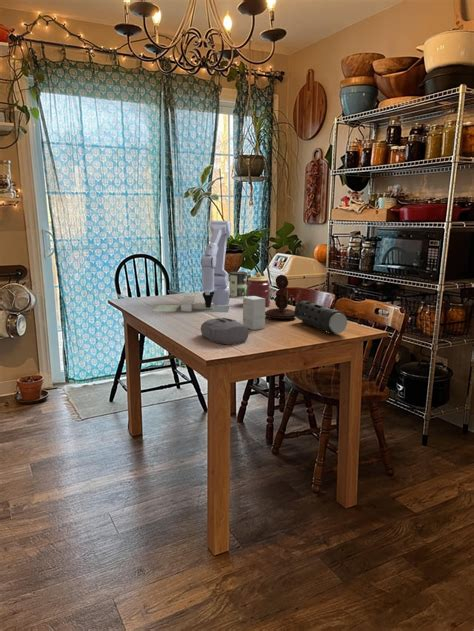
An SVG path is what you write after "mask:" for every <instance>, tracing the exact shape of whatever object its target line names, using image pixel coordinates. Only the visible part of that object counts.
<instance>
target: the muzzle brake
mask: <svg viewBox="0 0 474 631" xmlns="http://www.w3.org/2000/svg"><path fill="white" fill-rule="evenodd" d="M294 311H295V316H296V317H295V318H296V319H298V321H301V322H302V323H303V322H304V323H303V324H305V323H306V324H305V325H308V324H309V325H308V326H310V325H311V327H313V326H314V328H315V327H318V328H317V329H321V330H323V332H324V331H327V332H329V333H328V334H332V335H333V334H341V333H343V332H344V331H345V330H346V328H347V326H348V319H347V316H346V315H345V314H344V313H343V312H342V311H340V310H337V309H332V308H329V307H326V306H322V305H320V304H317V303H313V302H311V301H308V300H301V301H299V302H297V304H296V305H295V307H294Z"/></svg>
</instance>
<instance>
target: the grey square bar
mask: <svg viewBox="0 0 474 631" xmlns="http://www.w3.org/2000/svg"><path fill="white" fill-rule="evenodd" d="M193 303H196V301H195V296H192V295H189V296H187V295H184V296H183V298H182V299H181V301H180V305H181V311H185V312H184V313H193V312H192V310H193Z"/></svg>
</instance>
